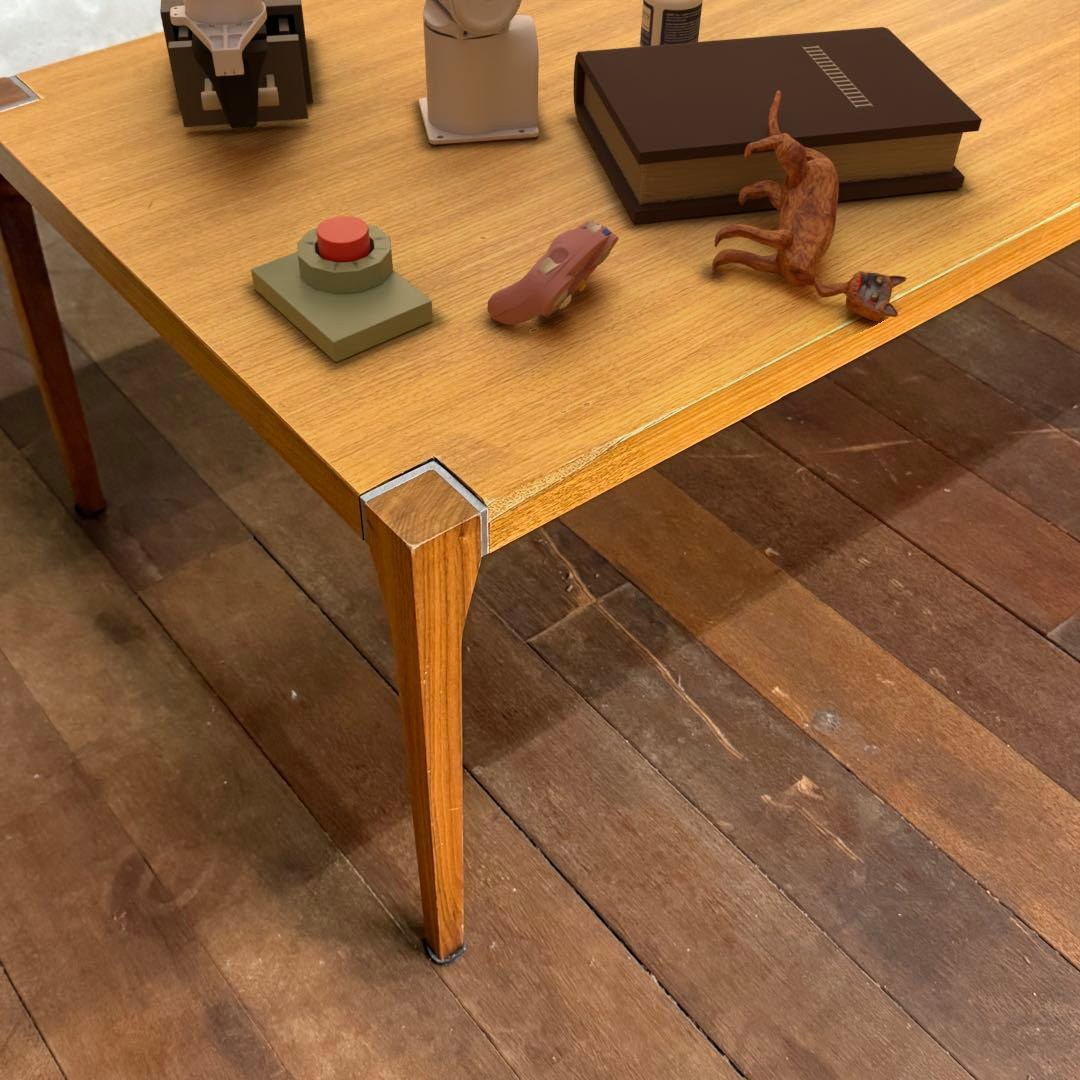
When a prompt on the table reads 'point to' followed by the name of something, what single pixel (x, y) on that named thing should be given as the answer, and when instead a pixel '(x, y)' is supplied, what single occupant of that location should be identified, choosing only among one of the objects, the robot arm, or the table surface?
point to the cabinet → (276, 3)
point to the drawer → (276, 84)
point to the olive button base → (343, 296)
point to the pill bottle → (670, 22)
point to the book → (766, 118)
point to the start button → (343, 239)
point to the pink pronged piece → (554, 275)
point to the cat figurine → (803, 225)
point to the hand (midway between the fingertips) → (243, 124)
